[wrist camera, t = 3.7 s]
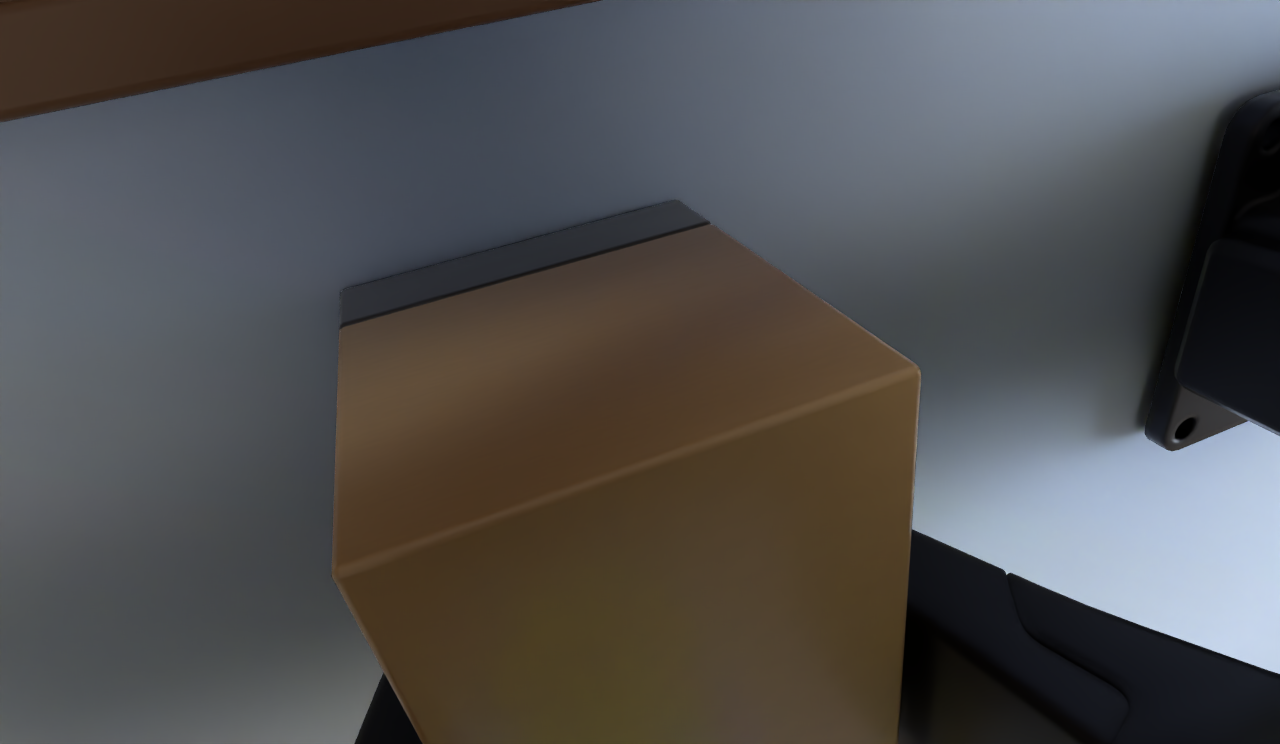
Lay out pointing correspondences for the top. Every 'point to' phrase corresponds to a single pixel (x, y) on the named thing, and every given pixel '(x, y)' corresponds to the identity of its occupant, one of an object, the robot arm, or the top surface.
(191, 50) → the tray
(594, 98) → the top surface
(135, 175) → the top surface
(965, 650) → the robot arm
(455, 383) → the eraser
